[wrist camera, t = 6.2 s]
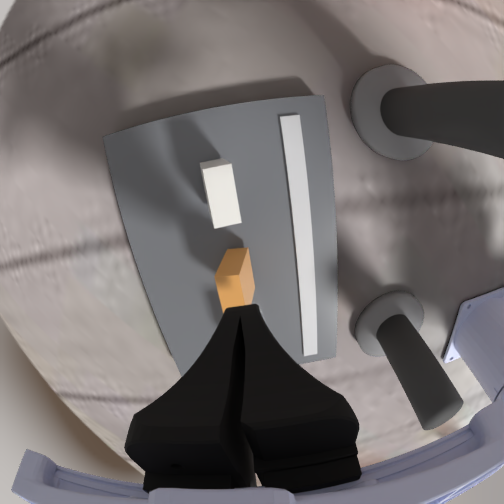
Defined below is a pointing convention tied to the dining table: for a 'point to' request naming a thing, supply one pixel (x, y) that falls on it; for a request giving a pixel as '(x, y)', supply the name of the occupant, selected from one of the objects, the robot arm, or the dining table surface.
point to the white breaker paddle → (220, 192)
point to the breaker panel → (237, 235)
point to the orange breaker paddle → (235, 278)
